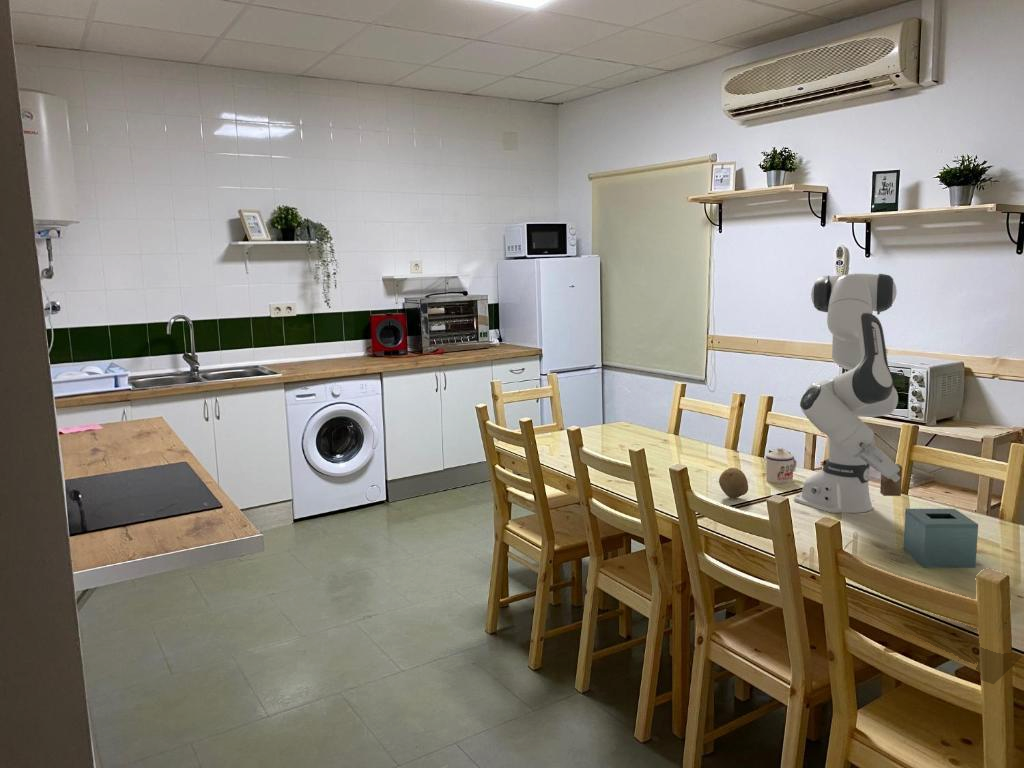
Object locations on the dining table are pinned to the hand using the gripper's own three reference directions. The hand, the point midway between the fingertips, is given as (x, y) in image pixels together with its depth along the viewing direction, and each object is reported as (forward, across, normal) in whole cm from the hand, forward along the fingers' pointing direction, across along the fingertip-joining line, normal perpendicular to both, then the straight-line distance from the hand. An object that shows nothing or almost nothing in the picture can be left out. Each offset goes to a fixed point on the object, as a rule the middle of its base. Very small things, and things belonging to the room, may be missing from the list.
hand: (894, 477), depth 189 cm
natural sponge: (-6, +50, +37) cm, 62 cm away
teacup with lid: (+8, +71, +22) cm, 75 cm away
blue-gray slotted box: (+23, 0, +7) cm, 24 cm away
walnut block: (+3, 0, +4) cm, 4 cm away
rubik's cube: (+11, +90, +20) cm, 93 cm away
